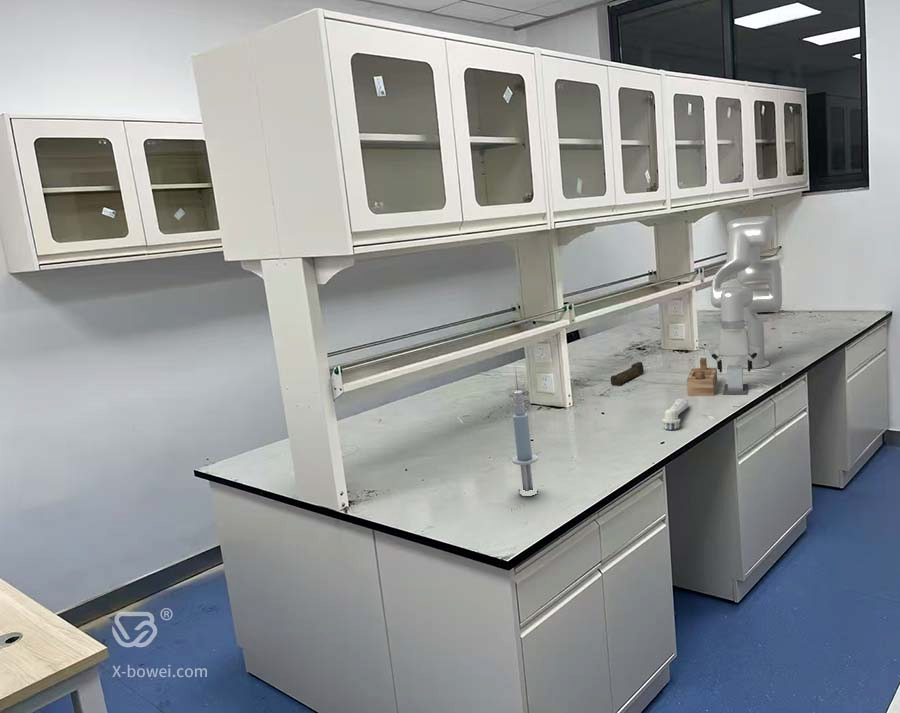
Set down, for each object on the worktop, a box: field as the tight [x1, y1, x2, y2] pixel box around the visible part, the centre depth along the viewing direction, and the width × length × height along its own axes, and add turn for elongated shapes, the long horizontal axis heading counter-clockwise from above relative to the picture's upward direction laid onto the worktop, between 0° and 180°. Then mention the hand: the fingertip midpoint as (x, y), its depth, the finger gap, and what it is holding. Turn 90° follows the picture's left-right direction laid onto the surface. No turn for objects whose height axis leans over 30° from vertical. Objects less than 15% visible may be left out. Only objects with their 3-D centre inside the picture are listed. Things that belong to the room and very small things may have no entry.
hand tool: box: [610, 361, 644, 387], centre depth 292 cm, size 23×5×6 cm, turn 134°
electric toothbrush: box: [661, 397, 689, 430], centre depth 235 cm, size 5×7×25 cm
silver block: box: [726, 364, 744, 391], centre depth 259 cm, size 7×5×8 cm
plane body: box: [686, 357, 718, 397], centre depth 264 cm, size 18×9×10 cm, turn 156°
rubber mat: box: [722, 382, 749, 396], centre depth 260 cm, size 14×8×1 cm, turn 156°
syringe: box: [511, 367, 539, 491], centre depth 186 cm, size 6×7×36 cm
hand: (734, 371), depth 258 cm, fingers open, 9 cm apart
